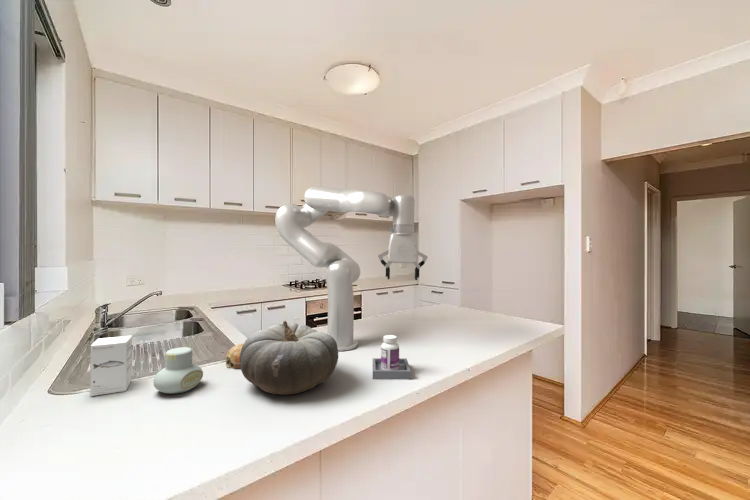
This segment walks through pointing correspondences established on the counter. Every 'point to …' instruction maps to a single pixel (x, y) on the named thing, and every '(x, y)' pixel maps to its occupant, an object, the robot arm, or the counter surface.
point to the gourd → (288, 358)
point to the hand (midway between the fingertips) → (402, 279)
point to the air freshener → (178, 372)
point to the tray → (401, 373)
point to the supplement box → (110, 365)
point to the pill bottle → (390, 353)
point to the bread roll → (234, 357)
